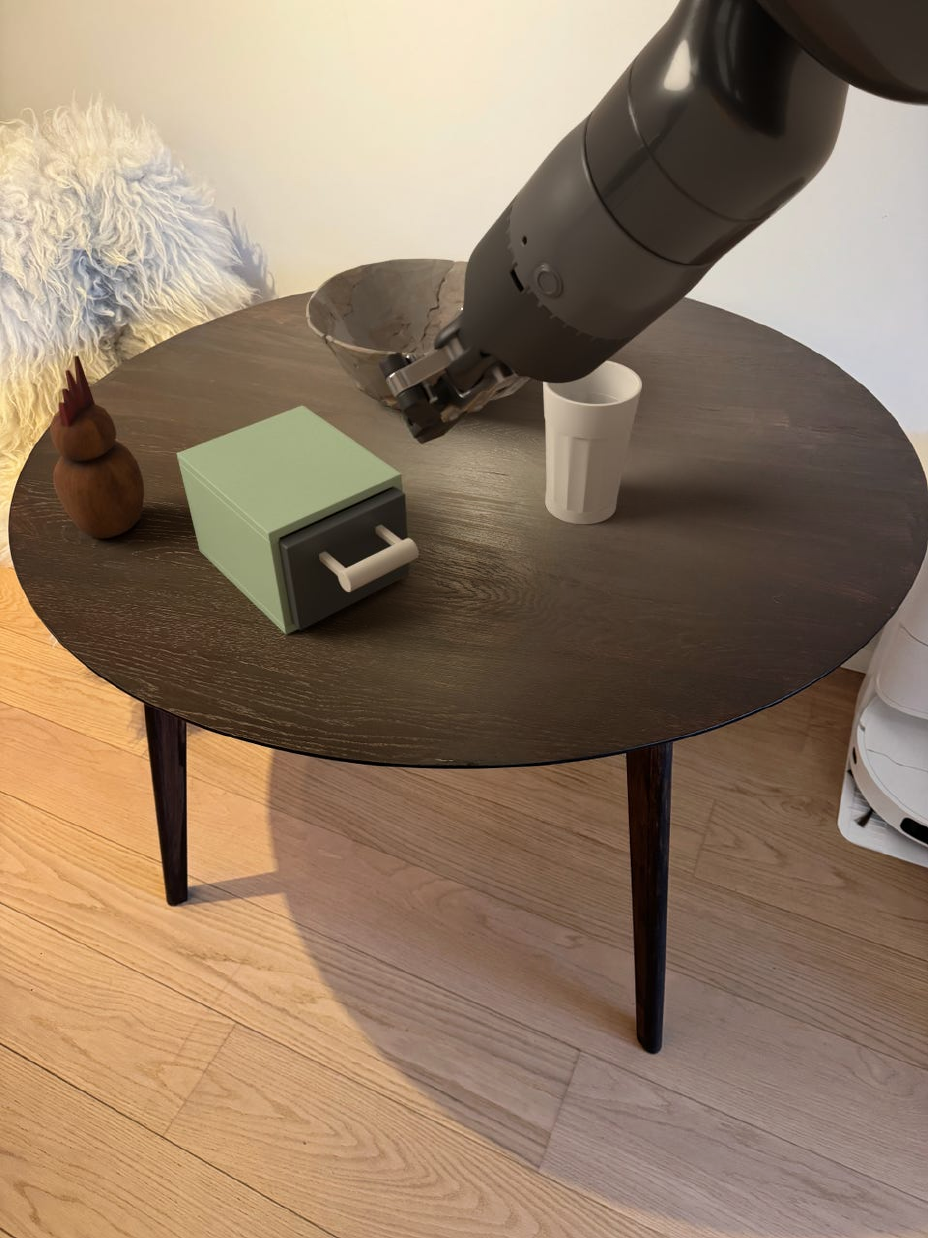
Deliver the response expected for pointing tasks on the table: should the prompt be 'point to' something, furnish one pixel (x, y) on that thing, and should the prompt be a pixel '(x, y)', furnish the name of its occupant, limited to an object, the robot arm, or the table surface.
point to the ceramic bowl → (385, 315)
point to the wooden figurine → (93, 464)
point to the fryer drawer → (346, 556)
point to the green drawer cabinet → (273, 496)
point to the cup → (588, 441)
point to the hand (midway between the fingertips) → (420, 425)
